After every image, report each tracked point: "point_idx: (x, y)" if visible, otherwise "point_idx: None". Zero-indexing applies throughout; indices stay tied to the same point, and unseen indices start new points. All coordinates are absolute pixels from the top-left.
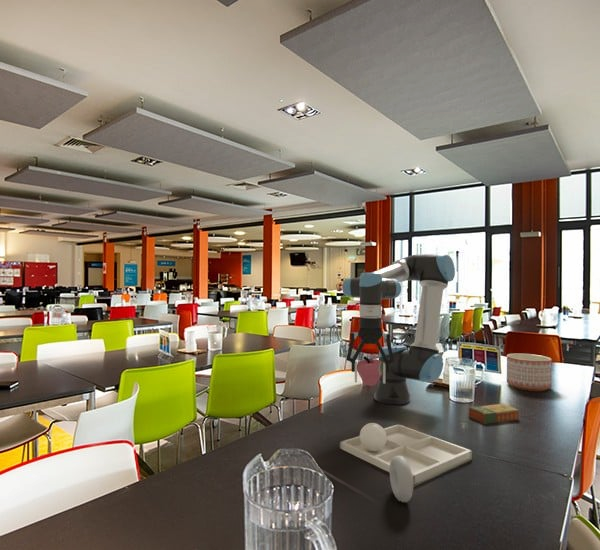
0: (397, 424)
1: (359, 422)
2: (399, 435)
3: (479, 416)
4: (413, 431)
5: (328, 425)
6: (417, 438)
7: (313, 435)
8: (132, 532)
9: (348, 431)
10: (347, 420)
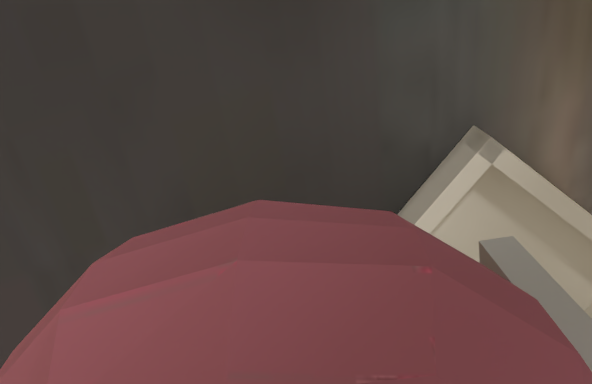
0: (482, 148)
1: (201, 34)
2: (477, 221)
3: None
4: (573, 225)
5: (26, 164)
6: (576, 232)
7: (18, 332)
8: None
9: (176, 221)
10: (108, 20)
